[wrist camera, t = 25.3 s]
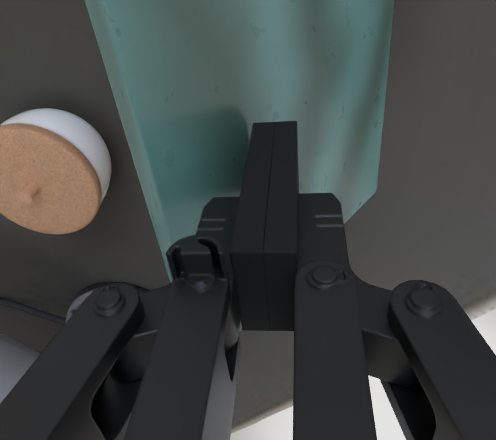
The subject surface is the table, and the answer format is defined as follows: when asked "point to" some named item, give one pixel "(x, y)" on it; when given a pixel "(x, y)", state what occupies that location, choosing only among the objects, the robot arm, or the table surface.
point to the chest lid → (244, 95)
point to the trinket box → (52, 170)
